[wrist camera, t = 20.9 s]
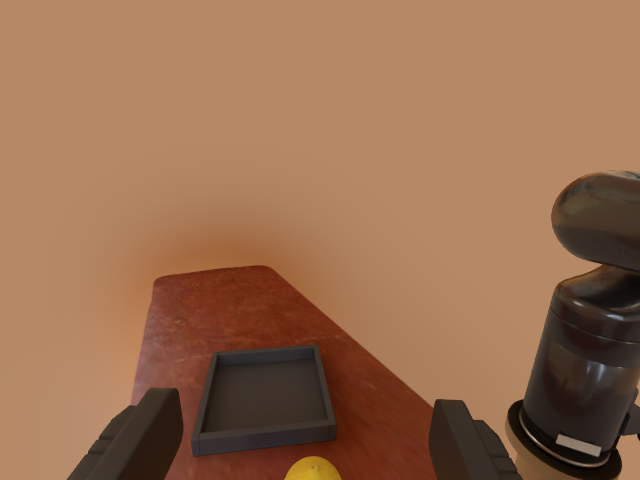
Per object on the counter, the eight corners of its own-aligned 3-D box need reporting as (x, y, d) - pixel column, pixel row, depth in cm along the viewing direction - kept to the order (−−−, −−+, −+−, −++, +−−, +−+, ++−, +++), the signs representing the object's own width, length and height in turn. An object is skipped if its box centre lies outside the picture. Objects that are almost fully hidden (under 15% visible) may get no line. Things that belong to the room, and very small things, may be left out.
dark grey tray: (317, 356, 51) (318, 344, 50) (335, 439, 37) (336, 424, 37) (214, 364, 49) (212, 351, 48) (192, 456, 35) (190, 440, 34)
